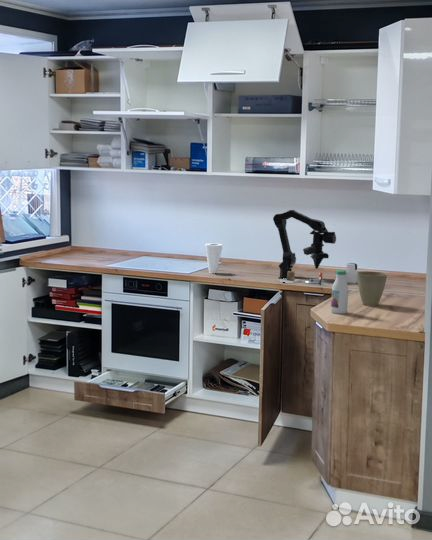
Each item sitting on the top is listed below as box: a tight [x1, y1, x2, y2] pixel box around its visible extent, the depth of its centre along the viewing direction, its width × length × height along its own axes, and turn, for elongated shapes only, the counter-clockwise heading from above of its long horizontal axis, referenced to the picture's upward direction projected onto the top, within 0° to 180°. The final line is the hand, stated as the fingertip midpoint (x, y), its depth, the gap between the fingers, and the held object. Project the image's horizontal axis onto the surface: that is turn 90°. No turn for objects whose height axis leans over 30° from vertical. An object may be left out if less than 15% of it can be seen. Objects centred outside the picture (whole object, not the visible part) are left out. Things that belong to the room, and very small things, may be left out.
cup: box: [204, 243, 223, 274], centre depth 478 cm, size 11×11×18 cm
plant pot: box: [357, 271, 388, 307], centre depth 390 cm, size 15×15×16 cm
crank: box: [303, 272, 323, 285], centre depth 450 cm, size 13×9×5 cm
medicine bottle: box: [345, 262, 359, 284], centre depth 456 cm, size 7×7×12 cm
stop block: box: [287, 271, 296, 281], centre depth 452 cm, size 4×4×6 cm
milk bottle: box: [330, 269, 349, 315], centre depth 366 cm, size 8×8×20 cm
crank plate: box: [295, 279, 333, 287], centre depth 448 cm, size 16×14×4 cm
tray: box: [279, 278, 303, 284], centre depth 452 cm, size 9×9×2 cm
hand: (316, 268), depth 458 cm, fingers closed
